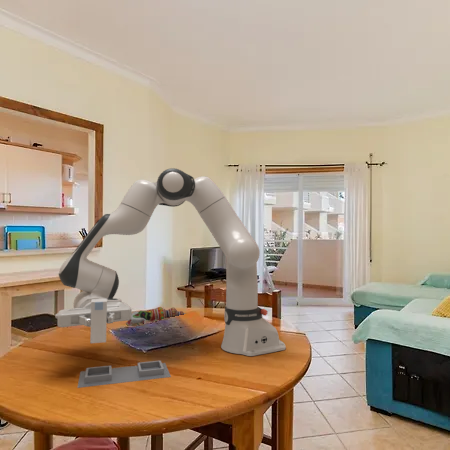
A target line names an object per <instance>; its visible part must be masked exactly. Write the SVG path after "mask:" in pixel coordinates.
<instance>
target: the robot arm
mask: <svg viewBox="0 0 450 450" xmlns="http://www.w3.org/2000/svg"><path fill="white" fill-rule="evenodd" d="M186 201H187V202H188V203H190V204H192V206H193V207H194V208H195V210H196V212H197V213H198V215H199V216H200V218H201V219H202V221H203V222H204V224H205V225H206V227H207V228H208V230H209V231H210V233H211V234H212V236H213V238H214V239H215V242H216V243H217V244H218V246H219V248H220V249H221V251H222V253H223V254H224V256H225V257H226V263H225V264H226V271H225V272H226V274H225V275H226V280H225V281H226V282H225V284H226V289H225V296H226V297H225V307H224V318H223V319H224V323H225V324H224V331H223V338H222V342H221V345H220V347H221V349H222V350H223V351H225V352H227V353H231V354H238V355H244V356H247V357H255V356H260V355H265V354H270V353H276V352H279V351H280V352H281V351H285V350H286V344H285V342H284V341H282V340H280V337H279V333H278V330H277V328H276V326H274V325H273V324H271V323H270V322H269V321H267V320H266V319H265V318H264V317H263V316H267V315H268V310H267V309H265V308H261V307H260V306H258V304H259V303H258V302H259V301H258V297H259V296H258V294H259V287H258V286H259V285H258V284H259V283H258V282H259V281H258V267H257V265H258V262H259V258H260V248H259V245H258V244H257V241H255V239H254V237H253V236H252V235H251V233H250V232H249V230H248V228H247V227H246V226H245V224H244V223H243V221H242V220H241V218H240V217H239V216H238V215H237V213H236V211H235V210H234V208H233V207H232V205H231V204H230V202H229V200H228V199H227V197H226V196H225V194H224V193H223V192H222V190H221V189H220V187H219V186H218V185H217V184H216V183H215V182H214V181H213V180H212V179H211V178H210V177H208V176H202V175H201V176H198V177H196V178H194V177H193V176H192V175H190V174H188V173H186V172H184V171H183V170H181V169H179V168H174V167H173V168H172V167H171V168H168V169H165V170H163V171H162V172H161V173H159V175H158V177H157V181H155V182H154V181H153V182H152V181H151V180H147V179H137V180H136V181H134V182H133V184H132V185H131V186H130V187H129V189H128V190H127V192H126V193H125V195H124V196H123V198H122V200H121V201H120V204H119V205H118V207H117V208H116V209H115V210H113V211H112V212H111V213H105V214H104V215H102V216H101V217H100V218H99V219H98V220H97V221H96V222H95V224H94V225H93V227H92V228H90V231H88V233H87V234H86V236H85V237H84V238H83V239H82V241H81V242H80V243H79V245H78V246H77V247H76V248H75V250H74V251H73V252H72V253H71V255H69V256H68V258H66V259H65V261H64V262H63V263H62V265H61V266H60V268H59V272H58V277H59V279H60V281H61V283H62V285H64V286H65V287H69V288H73V289H77V290H80V291H81V292H79V293H78V294H77V295H76V297H75V298H74V301H73V304H72V305H73V308H65V309H60V310H59V311H58V313H55V315H54V316H55V319H57V327H58V328H68V327H76V326H79V327H80V326H84V327H88V328H91V301H92V299H107V323H106V325H107V324H113V323H116V322H118V323H119V322H126V321H127V322H128V320H131V317H132V313H133V312H132V307H131V305H129V304H127V302H122V299H121V298H114V297H115V295H116V293H117V292H118V289H119V284H120V280H119V279H120V278H119V275H118V272H117V270H114V269H111V268H110V267H107V266H105V265H102V264H99V263H97V262H94V261H92V260H90V259H88V256H89V254H90V253H91V252H92V250H93V249H94V248H95V247H96V245H97V244H98V243H99V241H100V240H101V239H102V238H104V237H106V236H108V235H109V236H110V235H122V236H130V235H131V236H132V235H137V234H140V233H141V232H142V231H144V230H145V228H146V227H147V225H148V223H149V221H150V219H151V217H152V216H153V213H154V211H155V209H156V208H157V207H158V206H159V205H160V206H166V207H179V206H181V205H183V204H184V203H186Z"/></svg>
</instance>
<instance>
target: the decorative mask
mask: <svg viewBox="0 0 450 450" xmlns="http://www.w3.org/2000/svg"><path fill="white" fill-rule="evenodd" d="M184 314H187V313H185V312H184V311H182V310H180V311H178V310H177V309H176V308H175V307H174V306H173V307H171V308H169V309H165V308H164V307H161V306H159V307H156V308H151V309H148V310H139V311H135V312H134V311H133V312H132V317H131V320H128V321H127V322H126V321H125V324H126V325H127V326H137V325H140V324H144V323H149V322H154V321H158V320H162V319H167V318H170V317H175V316H179V315H184Z"/></svg>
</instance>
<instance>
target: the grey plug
mask: <svg viewBox="0 0 450 450" xmlns="http://www.w3.org/2000/svg"><path fill="white" fill-rule="evenodd" d="M89 341H90V344H100V343H107V299H92V301H91V327H90V340H89Z"/></svg>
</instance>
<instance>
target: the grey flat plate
mask: <svg viewBox="0 0 450 450" xmlns="http://www.w3.org/2000/svg"><path fill="white" fill-rule="evenodd" d="M165 378H172V376H171V373H170V371H169V369H168V367H167V364H166V362H162V360H152V361H143V362H137V365H133V366H132V365H131V366H122V367H121V366H120V367H113V368H112V365H103V366H94V367H93V366H92V367H86V368H85V370H82V371H80V372H79V376H78V382H77V383H78V384H77V389H81V388H89V387H95V386H97V387H99V386H104V385H114V384H123V383H131V382H140V381H148V380H157V379H165Z"/></svg>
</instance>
